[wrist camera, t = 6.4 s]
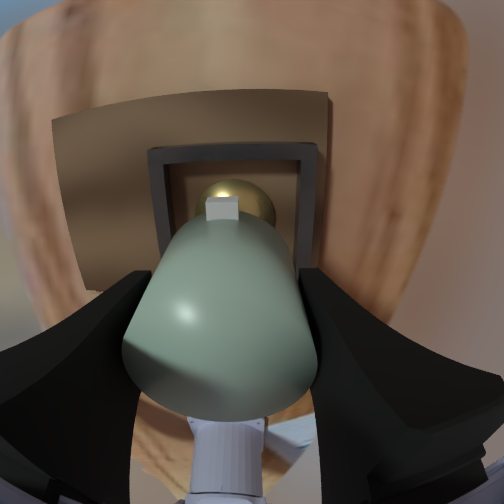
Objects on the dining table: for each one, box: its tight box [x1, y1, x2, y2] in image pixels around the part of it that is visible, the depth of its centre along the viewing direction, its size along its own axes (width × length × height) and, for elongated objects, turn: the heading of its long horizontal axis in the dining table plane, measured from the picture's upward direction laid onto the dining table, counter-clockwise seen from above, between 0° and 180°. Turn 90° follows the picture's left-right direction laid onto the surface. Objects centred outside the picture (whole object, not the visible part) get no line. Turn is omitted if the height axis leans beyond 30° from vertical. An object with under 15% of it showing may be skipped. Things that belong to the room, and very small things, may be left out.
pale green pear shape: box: [122, 196, 317, 422], centre depth 9 cm, size 6×5×5 cm
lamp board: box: [52, 89, 328, 291], centre depth 16 cm, size 12×16×1 cm
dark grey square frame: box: [147, 141, 318, 281], centre depth 16 cm, size 8×8×1 cm
